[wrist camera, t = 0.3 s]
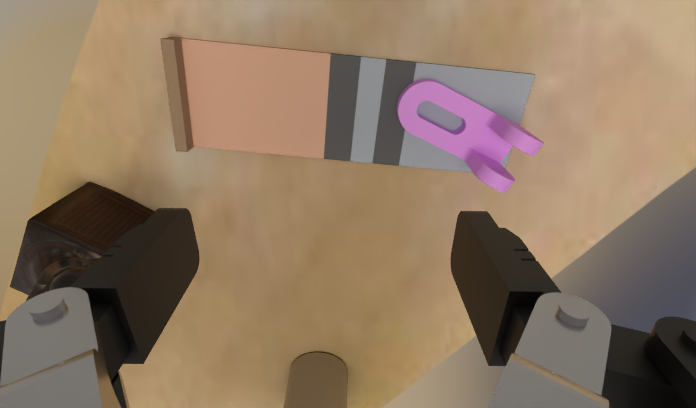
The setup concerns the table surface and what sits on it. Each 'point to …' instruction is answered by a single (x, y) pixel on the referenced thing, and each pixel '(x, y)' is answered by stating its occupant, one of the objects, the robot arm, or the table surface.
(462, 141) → the bracket
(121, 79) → the table surface
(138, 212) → the manual coffee grinder
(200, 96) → the lane
